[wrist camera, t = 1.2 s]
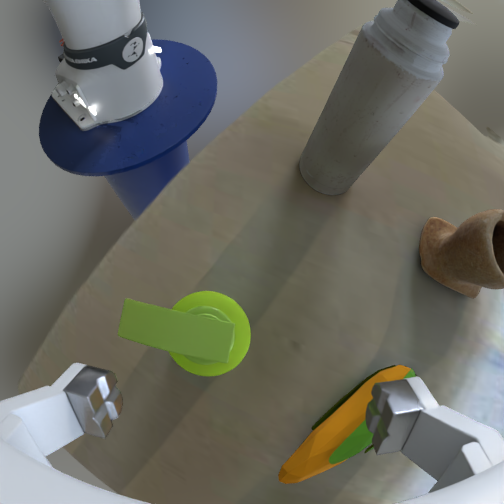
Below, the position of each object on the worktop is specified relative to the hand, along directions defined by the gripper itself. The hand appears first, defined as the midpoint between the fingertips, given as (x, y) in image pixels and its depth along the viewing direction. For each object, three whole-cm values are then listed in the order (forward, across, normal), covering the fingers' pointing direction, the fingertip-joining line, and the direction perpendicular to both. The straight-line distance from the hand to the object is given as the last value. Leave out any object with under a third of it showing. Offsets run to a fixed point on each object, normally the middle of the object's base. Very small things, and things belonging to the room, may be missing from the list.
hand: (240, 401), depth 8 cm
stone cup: (+31, -29, +4) cm, 42 cm away
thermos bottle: (+34, -9, -8) cm, 36 cm away
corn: (+19, -10, +21) cm, 30 cm away
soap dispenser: (+22, +6, +10) cm, 25 cm away
